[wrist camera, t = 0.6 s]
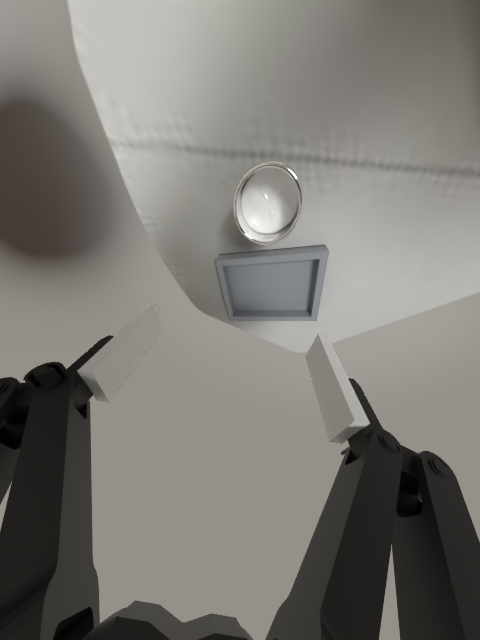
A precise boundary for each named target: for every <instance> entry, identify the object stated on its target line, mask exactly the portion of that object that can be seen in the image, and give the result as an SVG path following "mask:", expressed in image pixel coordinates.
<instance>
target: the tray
mask: <svg viewBox="0 0 480 640" xmlns="http://www.w3.org/2000/svg"><path fill="white" fill-rule="evenodd" d="M328 254H329V251H328V249H327V247H326V246H325V245H316V246H305V247H294V248H283V249H272V250H261V251H250V252H240V253H229V254H220V255H219V256H218V257H217V259H216V260H215V263H216V267H217V271H218V275H219V279H220V284H221V288H222V292H223V296H224V300H225V304H226V308H227V313H228V317H229V320H237V321H317V315H318V310H319V304H320V299H321V293H322V287H323V282H324V276H325V271H326V265H327V259H328Z"/></svg>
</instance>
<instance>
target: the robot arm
mask: <svg viewBox="0 0 480 640" xmlns="http://www.w3.org/2000/svg"><path fill="white" fill-rule="evenodd" d="M162 331H163V329H162V323H161V316H160V310H159V305H156V304H150V303H149V304H148V305H147V306H146V307H145V308H144V309H143V310H142V311H141V312H140V313H139V314H138V315H137V316H136V317H134V318H133V319H132V320H131V321H130V322H129V323H128V324H127V325H126V326H125V327H124V328H123V329H122V330H120V331H119V332H118V333H117V334H116V335H115V336H107V337H105V338H103V339H101V340H100V341H98V342H97V343H96V344H95V345H94V346H93V347H92V348H90V349H89V350H88V352H86V353H85V354H84V355H82V356H81V357H80V358H79V359H78V360H77V361H76V362H74V363H73V364H72V365H71V366H70V367H69V368H68V369H66V368H65V367H64V366H63V364H61V363H59V362H50V363H45V364H43V365H40V366H38V367H36V368H34V369H32V370H31V371H30V372H29V373H27V374H26V376H25V377H24V380H25V381H26V383H20V382H19V381H18V380H17V379H15V378H12V377H8V378H2V379H0V504H1V502H2V500H3V498H4V496H5V494H6V492H7V490H8V488H9V486H10V484H11V482H12V484H11V489H10V493H9V497H8V501H7V506H6V510H5V514H4V518H3V522H2V527H1V531H0V640H253V639H252V638H251V636H250V635H249V634H248V633H247V632H246V631H245V630H244V629H243V628H242V627H241V626H240V625H239V623H238V621H237V619H236V618H233V617H227V616H222V615H217V614H209V615H206V616H203V617H200V618H197V619H194V620H191V621H189V622H185V623H183V622H181V621H179V620H178V619H177V618H176V617H174V616H173V615H172V614H171V613H169V612H168V611H167V610H166V609H164V608H163V607H162V606H161V605H157V604H152V603H146V602H140V601H134V602H133V603H132V604H131V605H130V606H128V607H127V608H123V609H121V610H120V611H118V612H116V613H114V614H112V615H111V616H110V617H108V618H107V619H106V620H104V621H103V622H102V623H100V617H99V586H98V577H97V572H96V570H95V568H94V565H93V557H92V501H91V500H92V495H91V436H90V435H91V434H90V433H91V432H90V402H89V399H90V398H91V397H92V396H93V395H94V397H95V398H96V400H99V401H105V402H110V401H111V400H112V399H113V397H114V396H115V394H116V393H117V392H118V391H119V389H120V388H121V387H122V385H123V384H124V383H125V381H126V380H127V379H128V377H129V376H130V374H131V373H132V372H133V370H134V369H135V368H136V366H137V365H138V364H139V362H140V361H141V360H142V358H143V357H144V356H145V354H146V353H147V351H148V350H149V349H150V348H151V346H152V345H153V344H154V342H155V341H156V339H157V338H158V337H159V335H160V334H161V333H162ZM306 360H307V364H308V368H309V371H310V375H311V378H312V382H313V386H314V389H315V393H316V396H317V399H318V403H319V406H320V410H321V414H322V417H323V421H324V424H325V428H326V432H327V435H328V439H329V442H335V443H341V444H342V443H344V442H345V441H346V440H348V442H349V445H350V446H349V447H348V448H346V449H345V450H343V451H342V452H341V454H342V455H343V454H345V456H344V459H343V461H342V463H341V466H340V468H339V471H338V474H337V476H336V478H335V481H334V484H333V486H332V489H331V492H330V494H329V496H328V499H327V501H326V504H325V506H324V509H323V511H322V514H321V517H320V519H319V522H318V524H317V527H316V529H315V532H314V534H313V537H312V539H311V542H310V544H309V547H308V549H307V552H306V554H305V557H304V559H303V562H302V564H301V567H300V570H299V572H298V574H297V577H296V580H295V582H294V585H293V587H292V590H291V592H290V594H289V596H288V598H287V599H286V600H285V601H284V602H283V604H282V605H281V607H280V608H279V610H278V611H277V614H276V616H275V618H274V620H273V623H272V625H271V628H270V630H269V633H268V635H267V638H266V640H379V632H380V626H381V618H382V610H383V603H384V596H385V588H386V581H387V573H388V566H389V557H390V551H391V544H392V551H393V562H394V573H395V584H396V596H397V607H398V618H399V629H400V639H401V640H480V542H479V539H478V537H477V535H476V531H475V528H474V526H473V523H472V520H471V517H470V514H469V512H468V509H467V506H466V503H465V501H464V498H463V495H462V492H461V489H460V487H459V484H458V481H457V479H456V476H455V475H454V473H453V471H452V470H451V469H450V467H449V466H448V465H447V464H446V463H445V462H444V461H443V460H442V459H441V458H440V457H438V456H437V455H435V454H434V453H431V452H429V451H422V452H420V453H416V452H414V451H412V450H410V449H408V448H406V447H404V446H402V445H400V444H399V442H398V441H397V440H396V438H395V437H394V436H393V435H391V434H390V433H389V432H387V431H386V430H383V428H382V426H381V425H380V423H379V421H378V419H377V417H376V415H375V414H374V411H373V409H372V408H371V406H370V404H369V403H368V400H367V398H366V397H365V396H364V393H363V391H362V389H361V387H360V386H359V385H358V383H356V381H355V380H354V379H350V378H348V377H347V375H346V373H345V371H344V369H343V367H342V365H341V363H340V361H339V359H338V357H337V355H336V353H335V350H334V348H333V346H332V344H331V342H330V340H329V338H328V336H326V335H320V334H318V335H317V337H316V339H315V340H314V342H313V344H312V346H311V348H310V349H309V351H308V353H307V355H306Z"/></svg>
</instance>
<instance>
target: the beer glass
mask: <svg viewBox="0 0 480 640" xmlns="http://www.w3.org/2000/svg"><path fill="white" fill-rule="evenodd" d="M302 209H303V191H302V187H301V183H300V181H299V178H298V176H297V175H296V173H295V172H294V171H293V170H292V169H291V168H290V167H289V166H288V165H286V164H284V163H282V162H278V161H267V162H264V163H261V164H259V165H256V166H255V167H253V168H252V169H250V170H249V171H248V172H247V173H246V174H245V175H244V176H243V178H242V179H241V181H240V182H239V184H238V187H237V189H236V192H235V196H234V202H233V212H234V218H235V221H236V224H237V226H238V228H239V230H240V231H241V233H242V234H243V235H244V236H245V237H246V238H247V239H249V240H250V241H252V242H254V243H257V244H261V245H270V244H274V243H277V242H279V241H281V240H283V239H284V238H286V237H287V236H288V235H289V234H290V233H291V232H292V231H293V230H294V228H295V227H296V225H297V223H298V221H299V219H300V216H301V213H302Z"/></svg>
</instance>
